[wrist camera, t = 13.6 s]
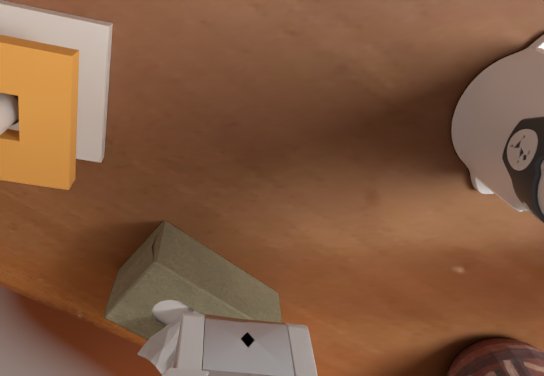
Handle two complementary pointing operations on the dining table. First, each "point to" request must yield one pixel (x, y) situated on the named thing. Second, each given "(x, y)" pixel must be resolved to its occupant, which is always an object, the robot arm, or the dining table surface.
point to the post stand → (92, 68)
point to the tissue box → (181, 291)
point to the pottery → (498, 359)
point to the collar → (40, 112)
